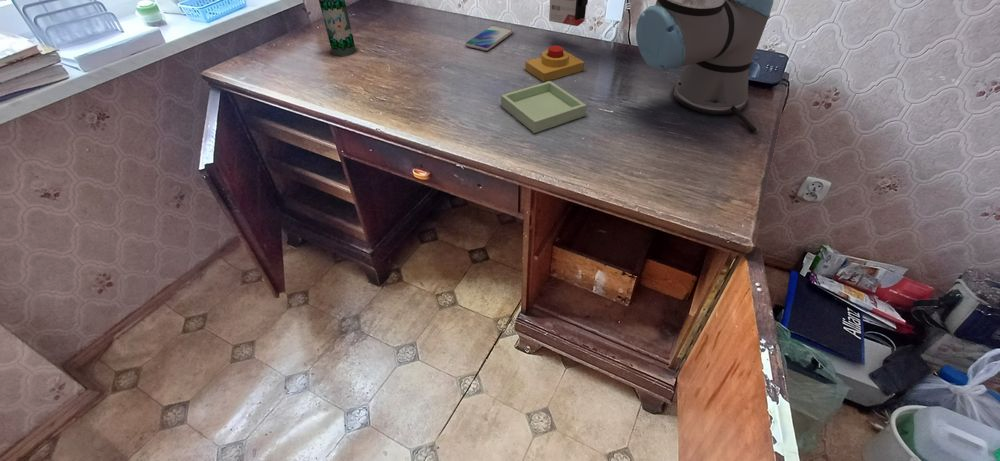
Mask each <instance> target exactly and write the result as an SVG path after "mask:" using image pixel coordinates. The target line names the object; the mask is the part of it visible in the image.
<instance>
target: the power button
mask: <svg viewBox="0 0 1000 461" xmlns="http://www.w3.org/2000/svg"><path fill="white" fill-rule="evenodd" d="M547 50H548V56H549V57H551V58H560V57H563V50H564V47H562V46H561V45H551V46H549V47H548V48H547Z"/></svg>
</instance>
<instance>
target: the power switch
mask: <svg viewBox="0 0 1000 461" xmlns="http://www.w3.org/2000/svg"><path fill="white" fill-rule="evenodd" d="M524 68H525V69H524V70H525V71H527V72H528V73H529V74H531V75H532V76H534V77H535V78H537V79H538V80H540V81H541V82H542V83H545V82H548V81H553V80H556V79H559V78H562V77H566V76H570V75H572V74H573V75H574V74H576V73H579V72H583V71H584V68H585V61H583V60H582V59H580V58H579V57H576V56H574V55H573V54H571V53H569V52H568V51H566V50H564V49H563V57H560V58H551V57H549V56H548V49H546V50H544V51H542V53H541V56H540V57H537V58H533V59H529V60H526V61H525V67H524Z"/></svg>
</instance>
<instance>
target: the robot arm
mask: <svg viewBox="0 0 1000 461" xmlns="http://www.w3.org/2000/svg"><path fill="white" fill-rule="evenodd" d="M588 3H589V0H576V10H575V19H576V20H578V19H582V18H585V19H586V13H587V12H586V11H587V6H588ZM773 5H774V0H656V1H655V5H650V6H648V7H647V8H645V10H643V11H642V12H641V13H640V15H639V17H638V19H637V23H636V27H635V38H636V39H635V40H636V44H637V48H638V50H639V54H640V55H641V58H642V59H643V61H644V62H645V63H646V64H647V65H648V66H649V67H651V68H653V69H655V70H659V71H666V70H677V69H679V68H681V67H685V66H687V67H686V68H685V69H684V71H683V72H682V74H681V76H680V77H679V78H678V80H677V81H676V83H675V85H674V86H675V87H674V90H673V97H674V99H675V100H676V101H677V102H678V103H679V104H680V105H682V106H684V107H685V108H687V109H690V110H692V111H694V112H698V113H701V114H707V115H715V116H723V115H724V116H725V115H733V114H735V115H736V116H737V117H738V118H739V120H740V121H741V122H742V123H743V124H744V125H745V127H746V128H748V129H749V130H750V131H751V132H753V133H754V132H756V131H757V127H756V126H755V125H753V123H752V122H750V121H749V119H748V118H747V117H746V116H745V115H744V114H743V113H742V112H741V111H742V110H743V109H744V108H745V106H746V103H747V101H748V98H749V75H750V74H749V73H750V72H749V70H750V68H751V65H752V63H753V59H754V57H755V54H756V52H757V49H758V46H759V44H760V42H761V39H762V36H763V34H764V31H765V28H766V26H767V23H768V21H769V19H770V17H771V12H772V9H773Z"/></svg>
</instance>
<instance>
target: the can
mask: <svg viewBox="0 0 1000 461" xmlns="http://www.w3.org/2000/svg"><path fill="white" fill-rule="evenodd" d="M318 3H319V7H320V10H321V15H322V18H323V22H324V26H325V30H326V34H327V38H328V41H329V45H330V50H331V53H332V55H334V56H338V57H340V56H341V57H345V56H349V55H352V54H354V53H356V51H357V49H356V45H355V39H354V35H353V30H352V27H351V22H350V16H349V13H348V8H347V4H346V0H318Z"/></svg>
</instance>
